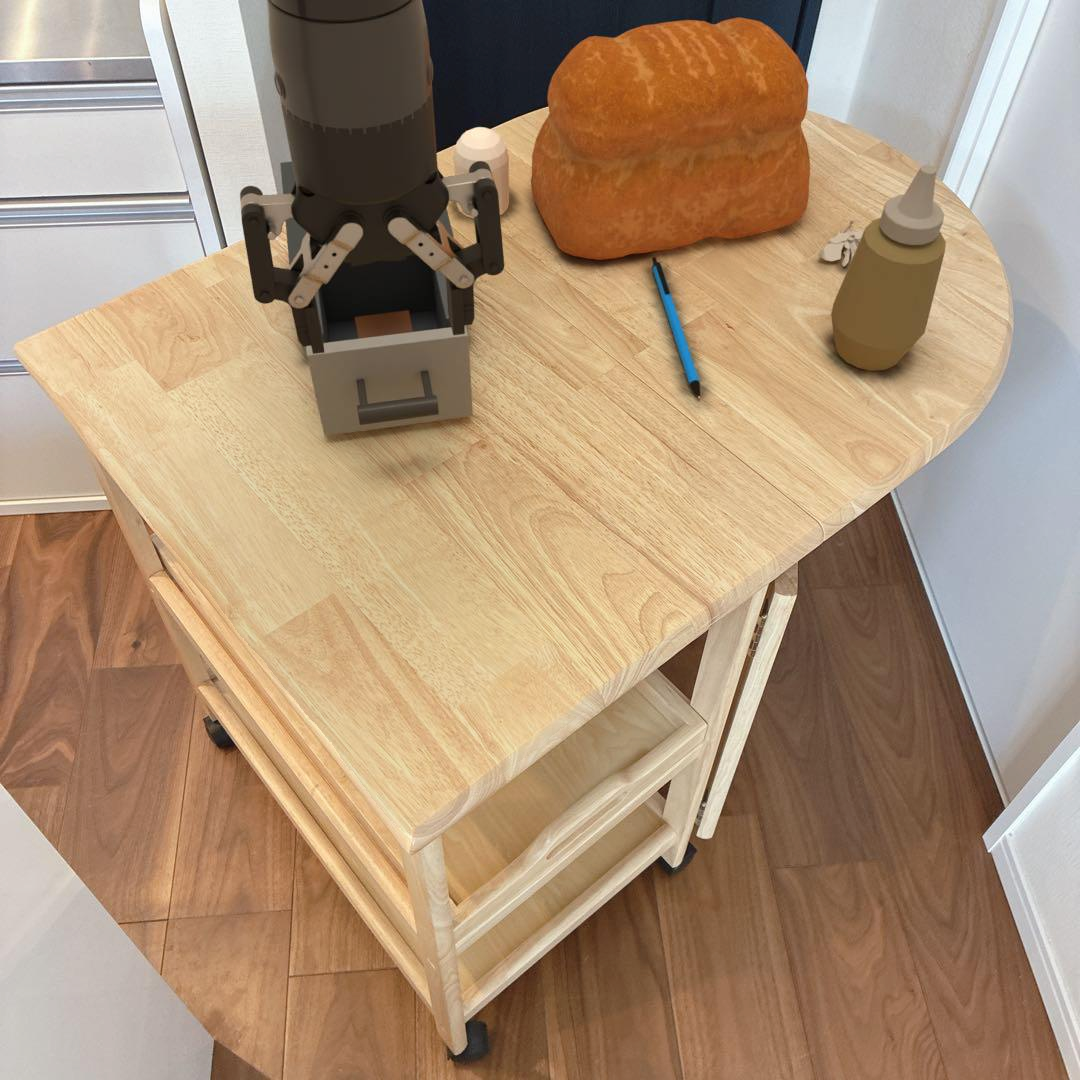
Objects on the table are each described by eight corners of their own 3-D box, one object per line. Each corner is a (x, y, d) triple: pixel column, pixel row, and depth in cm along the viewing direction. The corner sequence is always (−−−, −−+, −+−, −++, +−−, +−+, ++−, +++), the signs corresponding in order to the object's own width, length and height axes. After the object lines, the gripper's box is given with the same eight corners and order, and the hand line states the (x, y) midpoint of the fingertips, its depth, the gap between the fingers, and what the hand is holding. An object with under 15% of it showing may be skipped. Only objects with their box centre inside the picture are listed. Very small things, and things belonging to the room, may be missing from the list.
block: (366, 394, 87) (359, 353, 84) (361, 357, 90) (354, 316, 86) (420, 387, 88) (416, 345, 84) (413, 351, 90) (409, 309, 87)
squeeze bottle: (924, 338, 95) (994, 157, 81) (899, 393, 91) (968, 212, 76) (838, 309, 97) (891, 129, 83) (809, 362, 93) (860, 181, 79)
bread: (816, 232, 105) (860, 63, 91) (564, 276, 100) (570, 104, 86) (753, 147, 114) (784, -19, 100) (519, 183, 109) (519, 15, 96)
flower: (909, 288, 101) (920, 268, 99) (831, 299, 100) (839, 279, 97) (881, 230, 104) (890, 209, 102) (805, 240, 103) (812, 219, 101)
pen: (658, 262, 101) (659, 252, 100) (703, 401, 90) (705, 391, 89) (649, 262, 101) (650, 253, 100) (693, 402, 90) (695, 392, 89)
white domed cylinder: (520, 202, 107) (519, 130, 101) (483, 226, 105) (480, 153, 98) (482, 182, 109) (479, 109, 103) (445, 204, 107) (440, 131, 100)
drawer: (481, 454, 85) (477, 373, 78) (328, 475, 83) (310, 395, 76) (449, 312, 95) (443, 230, 88) (312, 328, 94) (296, 246, 87)
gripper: (484, 32, 55) (490, 283, 68) (205, 57, 53) (266, 311, 66) (511, 107, 51) (513, 361, 63) (209, 137, 49) (273, 393, 61)
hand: (387, 335), depth 65 cm, fingers open, 8 cm apart
